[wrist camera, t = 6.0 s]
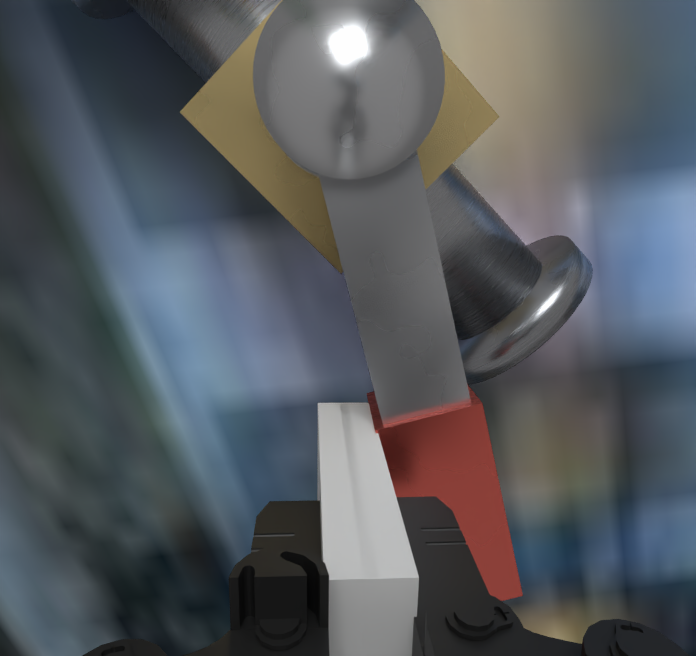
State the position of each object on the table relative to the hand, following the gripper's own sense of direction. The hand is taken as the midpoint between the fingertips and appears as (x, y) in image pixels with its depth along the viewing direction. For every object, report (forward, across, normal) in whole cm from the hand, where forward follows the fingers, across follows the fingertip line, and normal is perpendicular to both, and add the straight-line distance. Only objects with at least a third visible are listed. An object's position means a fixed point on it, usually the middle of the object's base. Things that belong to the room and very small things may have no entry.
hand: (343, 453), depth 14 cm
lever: (+1, +1, +4) cm, 4 cm away
